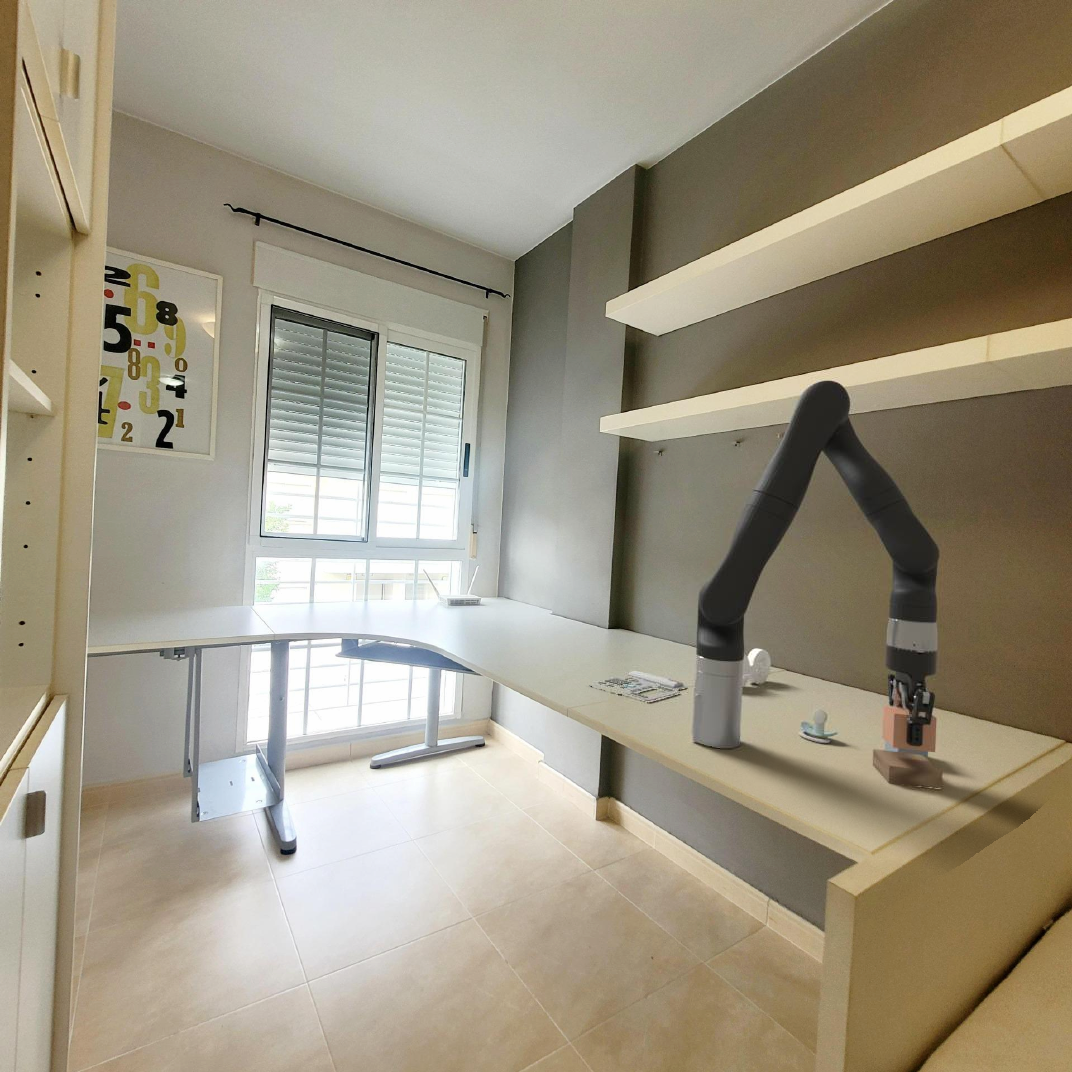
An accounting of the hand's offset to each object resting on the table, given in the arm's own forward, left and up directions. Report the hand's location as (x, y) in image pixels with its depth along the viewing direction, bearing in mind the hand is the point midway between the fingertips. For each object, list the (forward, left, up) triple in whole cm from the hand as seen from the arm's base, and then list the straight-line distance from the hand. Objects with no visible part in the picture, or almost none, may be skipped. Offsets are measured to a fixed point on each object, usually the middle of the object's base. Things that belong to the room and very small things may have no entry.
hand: (907, 739), depth 98 cm
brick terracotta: (0, 0, -1) cm, 1 cm away
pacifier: (-11, +16, -7) cm, 20 cm away
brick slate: (+4, +11, -7) cm, 13 cm away
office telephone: (-49, +41, -8) cm, 64 cm away
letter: (-20, +56, -7) cm, 60 cm away
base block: (0, 0, -7) cm, 7 cm away
